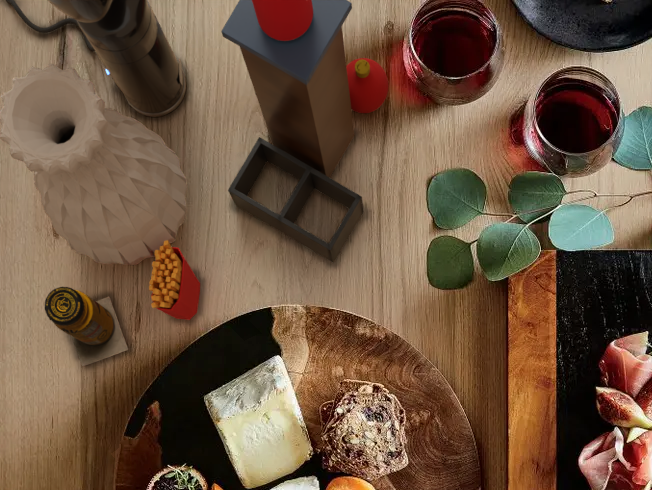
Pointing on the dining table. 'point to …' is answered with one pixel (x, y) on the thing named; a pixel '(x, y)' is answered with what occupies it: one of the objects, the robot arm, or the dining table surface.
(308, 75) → the gray square slab
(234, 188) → the rack
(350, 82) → the christmas ornament
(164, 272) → the french fries
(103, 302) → the condiment
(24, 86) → the vase
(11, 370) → the dining table surface
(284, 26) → the beverage can
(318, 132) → the post
